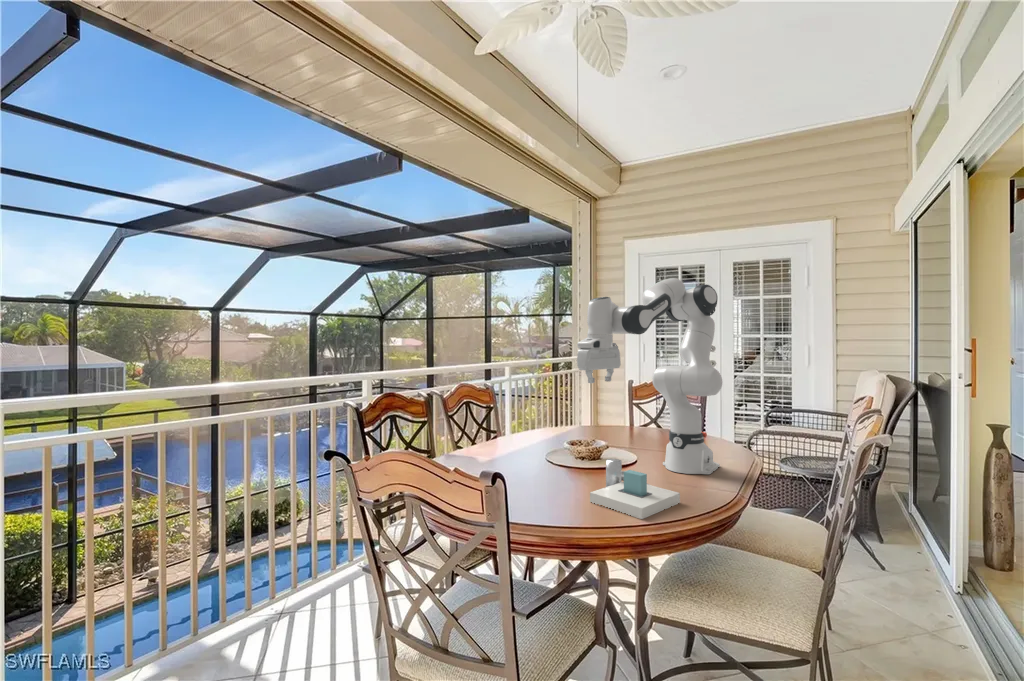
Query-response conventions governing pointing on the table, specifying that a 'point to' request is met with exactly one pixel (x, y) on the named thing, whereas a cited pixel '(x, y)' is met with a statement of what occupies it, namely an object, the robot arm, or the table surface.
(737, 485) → the table surface
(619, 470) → the round peg
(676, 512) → the table surface
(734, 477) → the table surface
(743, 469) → the table surface
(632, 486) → the flat bar
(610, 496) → the socket plate
